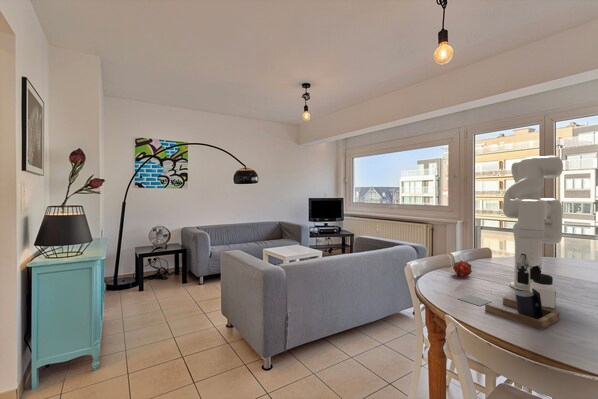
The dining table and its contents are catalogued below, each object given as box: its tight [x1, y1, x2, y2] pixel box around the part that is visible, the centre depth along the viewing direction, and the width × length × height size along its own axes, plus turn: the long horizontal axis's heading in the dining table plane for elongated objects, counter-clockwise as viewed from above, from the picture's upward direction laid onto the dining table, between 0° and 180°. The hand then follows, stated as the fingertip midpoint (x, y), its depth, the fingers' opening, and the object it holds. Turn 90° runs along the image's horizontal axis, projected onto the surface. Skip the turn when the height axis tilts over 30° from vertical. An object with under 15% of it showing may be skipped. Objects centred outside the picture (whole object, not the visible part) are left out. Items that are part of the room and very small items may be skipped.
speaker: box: [515, 288, 544, 319], centre depth 106 cm, size 8×6×10 cm
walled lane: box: [484, 296, 561, 330], centre depth 108 cm, size 15×18×2 cm
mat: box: [457, 294, 492, 307], centre depth 123 cm, size 9×9×1 cm
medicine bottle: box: [530, 273, 557, 309], centre depth 119 cm, size 7×7×12 cm
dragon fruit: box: [453, 260, 473, 278], centre depth 158 cm, size 8×8×12 cm
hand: (529, 281), depth 105 cm, fingers open, 9 cm apart
